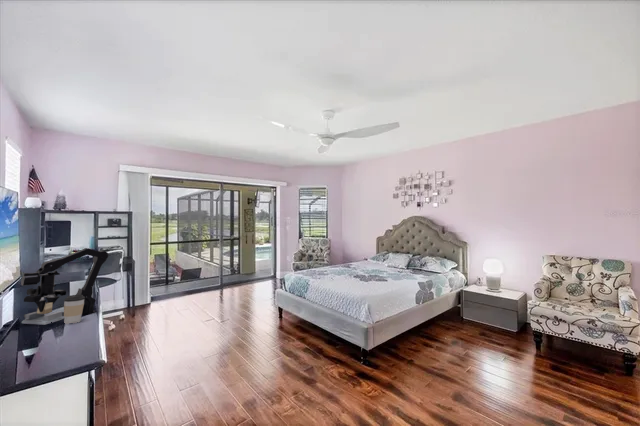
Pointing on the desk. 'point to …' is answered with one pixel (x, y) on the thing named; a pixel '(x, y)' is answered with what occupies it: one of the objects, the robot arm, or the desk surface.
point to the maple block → (46, 308)
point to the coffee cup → (73, 308)
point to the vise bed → (45, 319)
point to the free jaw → (32, 316)
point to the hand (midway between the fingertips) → (44, 310)
